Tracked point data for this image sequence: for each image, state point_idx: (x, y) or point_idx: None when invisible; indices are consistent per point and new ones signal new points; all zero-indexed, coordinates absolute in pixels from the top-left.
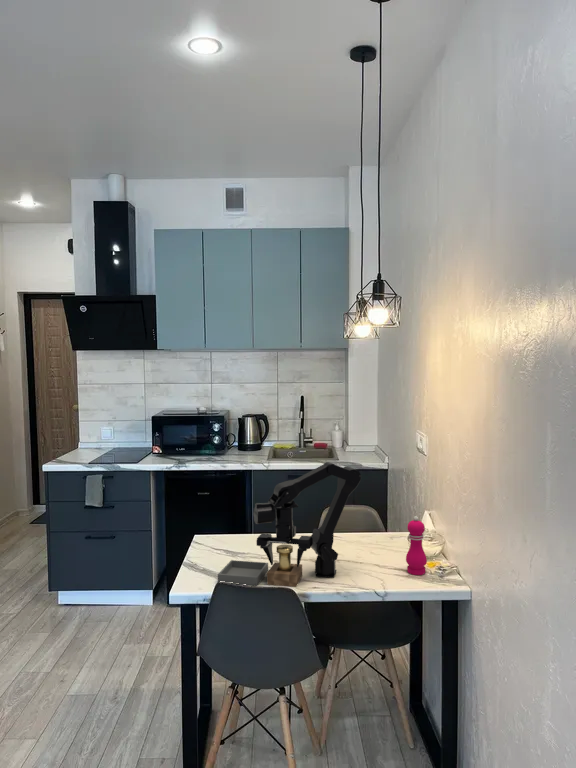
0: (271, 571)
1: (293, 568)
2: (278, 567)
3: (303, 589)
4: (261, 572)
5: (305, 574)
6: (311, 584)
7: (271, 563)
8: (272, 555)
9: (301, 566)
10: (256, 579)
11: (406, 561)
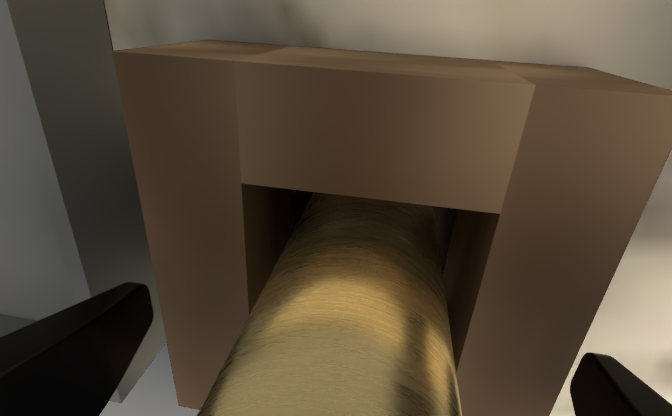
0: (209, 379)
1: (489, 297)
2: (247, 241)
3: (560, 398)
4: (94, 273)
5: (647, 7)
6: (666, 311)
7: (130, 349)
8: (12, 391)
9: (651, 169)
10: (129, 384)
11: None
